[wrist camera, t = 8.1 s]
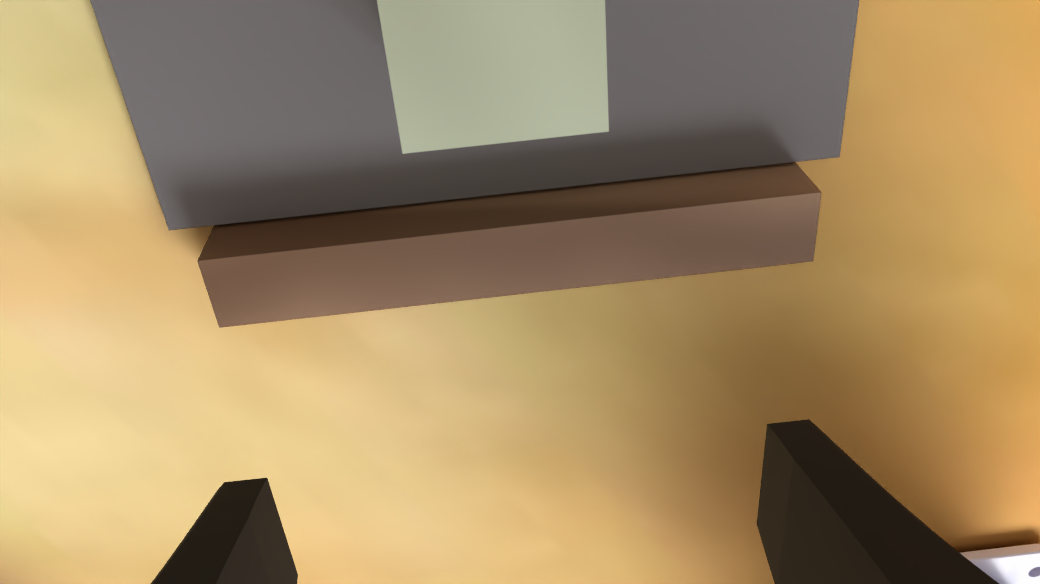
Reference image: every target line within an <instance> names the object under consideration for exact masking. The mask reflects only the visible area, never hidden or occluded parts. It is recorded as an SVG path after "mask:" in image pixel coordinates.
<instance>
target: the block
mask: <svg viewBox="0 0 1040 584" xmlns="http://www.w3.org/2000/svg"><path fill="white" fill-rule="evenodd" d="M377 4H378V10H379V16H380V22H381V28H382V34H383V40H384V46H385V52H386V58H387V64H388V70H389V76H390V82H391V88H392V94H393V100H394V106H395V112H396V118H397V124H398V130H399V136H400V141H401V147H402V153H403V154H405V153H414V152H424V151H433V150H442V149H451V148H461V147H470V146H479V145H489V144H498V143H507V142H516V141H526V140H535V139H544V138H553V137H563V136H572V135H581V134H591V133H600V132H609V118H608V84H607V50H606V15H605V0H377Z"/></svg>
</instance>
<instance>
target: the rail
mask: <svg viewBox="0 0 1040 584" xmlns="http://www.w3.org/2000/svg"><path fill="white" fill-rule="evenodd" d="M820 199H821V191H820V190H819V189H818V188H817V187H816V186H815V185H814V183H813V182H812V181H811V180H810V179H809V178H808V176H807V175H806V174H805V173H804V172H803V171H802V170H801V168H800V167H799V166H798V165H797V164H796V163H795V162H790V163H780V164H771V165H762V166H753V167H744V168H735V169H725V170H716V171H707V172H698V173H689V174H680V175H670V176H661V177H652V178H643V179H634V180H625V181H616V182H606V183H597V184H588V185H579V186H570V187H561V188H551V189H542V190H533V191H524V192H515V193H506V194H496V195H487V196H478V197H469V198H460V199H451V200H441V201H432V202H423V203H414V204H405V205H396V206H386V207H377V208H368V209H359V210H350V211H341V212H332V213H322V214H313V215H304V216H295V217H286V218H277V219H267V220H258V221H249V222H240V223H231V224H222V225H215V226H214V228H213V230H212V232H211V234H210V236H209V238H208V240H207V242H206V244H205V246H204V248H203V250H202V253H201V255H200V257H199V259H198V264H199V267H200V270H201V273H202V276H203V279H204V282H205V286H206V289H207V292H208V295H209V298H210V301H211V304H212V307H213V310H214V313H215V316H216V319H217V322H218V325H219V328H220V327H229V326H238V325H247V324H256V323H265V322H274V321H283V320H292V319H301V318H310V317H319V316H328V315H337V314H346V313H355V312H364V311H373V310H382V309H391V308H399V307H408V306H417V305H426V304H435V303H444V302H453V301H462V300H471V299H480V298H489V297H498V296H507V295H516V294H525V293H534V292H543V291H552V290H561V289H570V288H579V287H588V286H597V285H605V284H614V283H623V282H632V281H641V280H650V279H659V278H668V277H677V276H686V275H695V274H704V273H713V272H722V271H731V270H740V269H749V268H758V267H767V266H776V265H785V264H794V263H803V262H812V261H813V259H814V251H815V242H816V234H817V225H818V216H819V208H820Z"/></svg>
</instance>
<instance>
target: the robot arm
mask: <svg viewBox="0 0 1040 584" xmlns="http://www.w3.org/2000/svg"><path fill="white" fill-rule="evenodd" d="M757 526H758V529H759V533H760V536H761V540H762V543H763V546H764V550H765V553H766V557H767V560H768V563H769V566H770V569H771V573H772V576H773V579H774V582H775V584H1040V544H1028V545H1019V546H1011V547H1003V548H994V549H986V550H977V551H969V552H961V553H959V552H958V551H957V550H955V549H954V548H953V547H952V546H950V545H949V544H948V543H947V542H945V541H944V540H943V539H942V538H941V537H939V536H938V535H937V534H936V533H935V532H933V531H932V530H931V529H930V528H929V527H928V526H926V525H925V524H924V523H923V522H922V521H921V520H919V519H918V518H917V517H916V516H915V515H914V514H912V513H911V512H910V511H909V510H908V509H907V508H905V507H904V506H903V505H902V504H901V503H900V502H898V501H897V500H896V499H895V498H894V497H893V496H892V495H891V494H889V493H888V492H887V491H886V490H885V489H884V488H883V487H882V486H881V485H879V484H878V483H877V482H876V481H875V480H874V479H873V478H872V477H871V476H870V475H869V474H867V473H866V472H865V471H864V470H863V469H862V468H861V467H860V466H859V465H858V464H857V463H855V462H854V461H853V460H852V459H851V458H850V457H849V456H848V455H847V454H846V453H845V452H844V451H843V450H842V449H841V448H839V447H838V446H837V445H836V444H835V443H834V442H833V441H832V440H831V439H830V438H829V437H828V436H827V435H826V434H825V433H823V432H822V431H821V430H820V429H819V428H818V427H817V426H816V425H815V424H814V423H812V422H811V421H810V420H800V421H791V422H781V423H772V424H767V431H766V440H765V450H764V460H763V469H762V479H761V489H760V499H759V508H758V518H757ZM297 577H298V574H297V571H296V568H295V564H294V561H293V558H292V555H291V552H290V549H289V546H288V542H287V539H286V536H285V533H284V530H283V527H282V523H281V520H280V517H279V514H278V511H277V508H276V505H275V501H274V498H273V495H272V492H271V489H270V486H269V482H268V479H267V478H261V479H251V480H242V481H233V482H224V483H223V485H222V486H221V487H220V488H219V489H218V490H217V492H216V493H215V495H214V496H213V498H212V499H211V500H210V502H209V503H208V505H207V506H206V508H205V509H204V510H203V512H202V513H201V515H200V516H199V518H198V519H197V520H196V522H195V523H194V525H193V526H192V528H191V529H190V530H189V532H188V533H187V535H186V536H185V538H184V539H183V540H182V542H181V543H180V545H179V546H178V547H177V549H176V550H175V552H174V553H173V554H172V556H171V557H170V559H169V560H168V561H167V563H166V564H165V565H164V567H163V568H162V569H161V571H160V572H159V574H158V575H157V576H156V578H155V579H154V580H153V582H152V583H151V584H297Z"/></svg>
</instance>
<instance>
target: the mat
mask: <svg viewBox="0 0 1040 584" xmlns="http://www.w3.org/2000/svg"><path fill="white" fill-rule="evenodd" d="M90 1H91V4H92V7H93V9H94V12H95V15H96V18H97V21H98V24H99V27H100V30H101V33H102V36H103V39H104V42H105V45H106V47H107V50H108V53H109V56H110V59H111V62H112V65H113V68H114V71H115V74H116V77H117V80H118V83H119V85H120V88H121V91H122V94H123V97H124V100H125V103H126V106H127V109H128V112H129V115H130V118H131V121H132V123H133V126H134V129H135V132H136V135H137V138H138V141H139V144H140V147H141V150H142V153H143V156H144V159H145V161H146V164H147V167H148V170H149V173H150V176H151V179H152V182H153V185H154V188H155V191H156V194H157V197H158V199H159V202H160V205H161V208H162V211H163V214H164V217H165V220H166V223H167V226H168V229H169V230H176V229H185V228H194V227H203V226H212V225H222V224H231V223H240V222H249V221H258V220H267V219H277V218H286V217H295V216H304V215H313V214H322V213H332V212H341V211H350V210H359V209H368V208H377V207H386V206H396V205H405V204H414V203H423V202H432V201H441V200H451V199H460V198H469V197H478V196H487V195H496V194H506V193H515V192H524V191H533V190H542V189H551V188H561V187H570V186H579V185H588V184H597V183H606V182H616V181H625V180H634V179H643V178H652V177H661V176H670V175H680V174H689V173H698V172H707V171H716V170H725V169H735V168H744V167H753V166H762V165H771V164H780V163H790V162H799V161H808V160H817V159H826V158H835V157H840V149H841V141H842V133H843V125H844V117H845V109H846V101H847V93H848V85H849V77H850V69H851V61H852V53H853V45H854V37H855V29H856V21H857V14H858V6H859V0H605V15H606V50H607V84H608V118H609V132H600V133H591V134H581V135H572V136H563V137H553V138H544V139H535V140H526V141H516V142H507V143H498V144H489V145H479V146H470V147H461V148H451V149H442V150H433V151H424V152H414V153H405V154H403V153H402V147H401V141H400V136H399V130H398V124H397V118H396V112H395V106H394V100H393V94H392V88H391V82H390V76H389V70H388V64H387V58H386V52H385V46H384V40H383V34H382V28H381V22H380V16H379V10H378V4H377V0H90Z"/></svg>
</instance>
